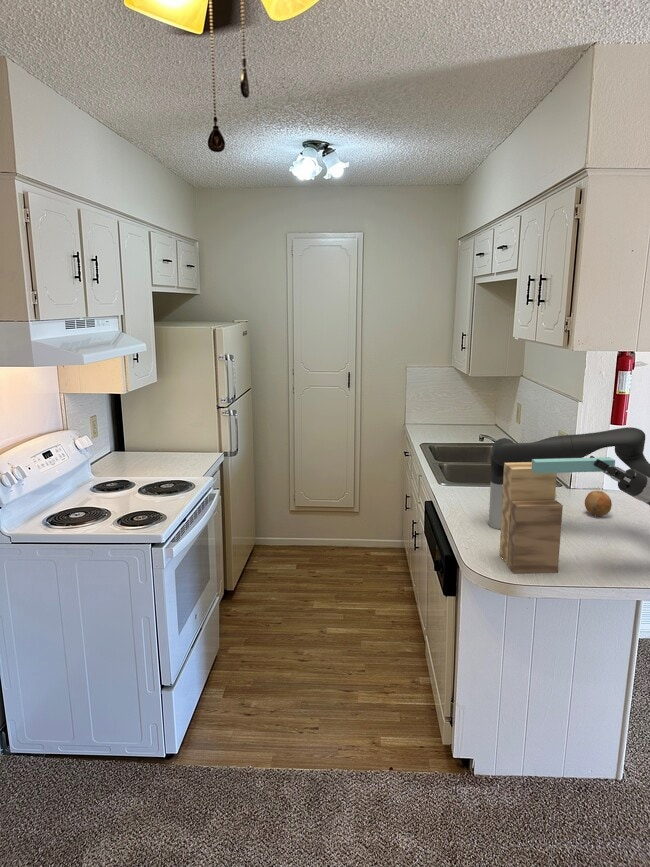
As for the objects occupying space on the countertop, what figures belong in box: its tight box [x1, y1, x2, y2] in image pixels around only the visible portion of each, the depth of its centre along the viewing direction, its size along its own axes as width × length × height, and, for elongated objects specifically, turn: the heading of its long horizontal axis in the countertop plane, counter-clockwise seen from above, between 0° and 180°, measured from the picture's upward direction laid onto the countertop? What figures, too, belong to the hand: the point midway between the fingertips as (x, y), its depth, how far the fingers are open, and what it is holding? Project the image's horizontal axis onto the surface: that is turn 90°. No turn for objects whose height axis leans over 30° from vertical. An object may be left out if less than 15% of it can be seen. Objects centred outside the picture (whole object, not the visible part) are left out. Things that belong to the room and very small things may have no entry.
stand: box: [499, 462, 558, 566], centre depth 192 cm, size 8×14×32 cm, turn 91°
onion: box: [584, 490, 613, 517], centre depth 234 cm, size 10×10×10 cm
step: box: [507, 499, 564, 574], centre depth 186 cm, size 5×14×22 cm, turn 91°
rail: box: [531, 456, 616, 474], centre depth 181 cm, size 4×24×4 cm, turn 91°
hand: (592, 460), depth 181 cm, fingers closed on rail, 3 cm apart
